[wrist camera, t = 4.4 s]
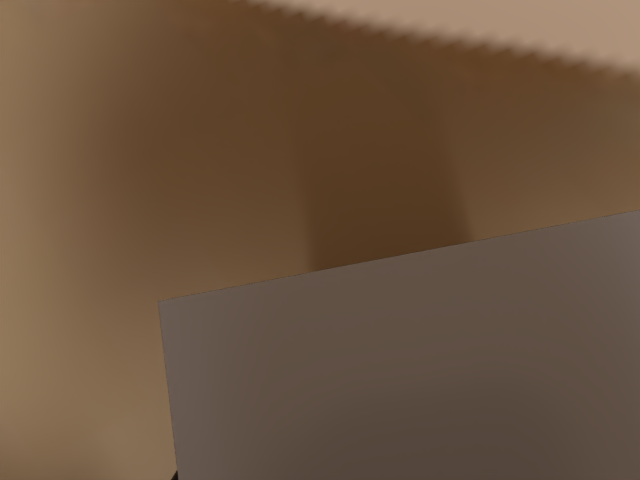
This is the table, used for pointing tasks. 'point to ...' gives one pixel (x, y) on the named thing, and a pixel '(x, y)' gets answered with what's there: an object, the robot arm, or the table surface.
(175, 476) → the robot arm
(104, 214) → the table surface
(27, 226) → the table surface
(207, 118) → the table surface
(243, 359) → the tall grey rectangular block
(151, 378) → the table surface
